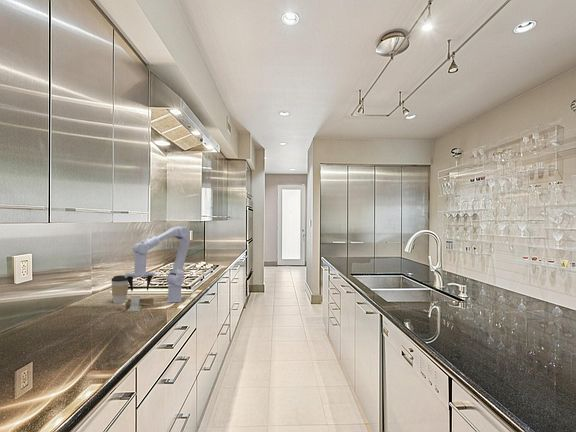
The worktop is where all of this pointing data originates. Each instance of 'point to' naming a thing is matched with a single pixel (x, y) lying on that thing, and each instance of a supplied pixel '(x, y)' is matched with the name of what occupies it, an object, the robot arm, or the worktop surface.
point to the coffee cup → (119, 288)
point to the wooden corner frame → (142, 302)
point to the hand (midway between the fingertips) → (139, 290)
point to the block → (135, 303)
